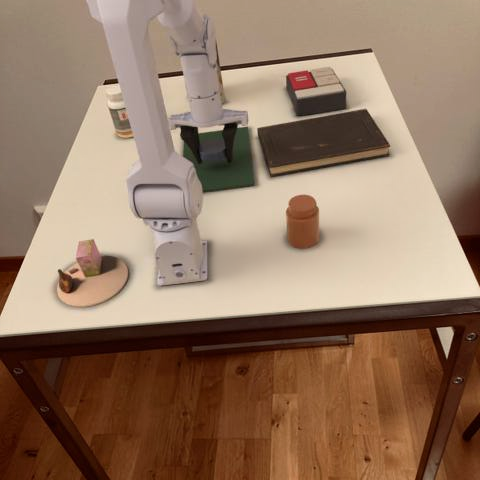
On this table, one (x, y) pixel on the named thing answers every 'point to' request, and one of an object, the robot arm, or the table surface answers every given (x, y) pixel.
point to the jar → (302, 221)
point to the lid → (212, 150)
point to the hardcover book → (321, 142)
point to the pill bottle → (118, 112)
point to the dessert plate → (92, 277)
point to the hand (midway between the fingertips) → (215, 160)
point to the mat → (225, 164)
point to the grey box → (315, 91)
